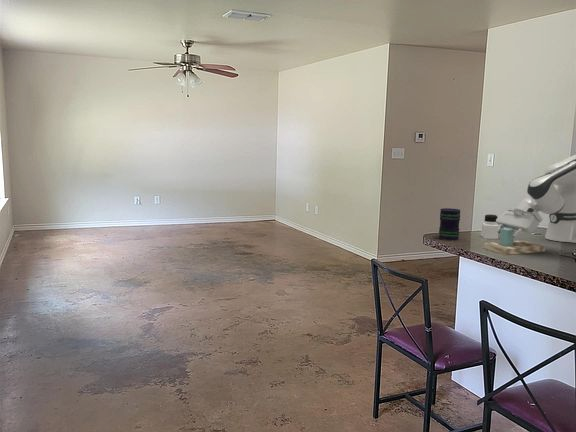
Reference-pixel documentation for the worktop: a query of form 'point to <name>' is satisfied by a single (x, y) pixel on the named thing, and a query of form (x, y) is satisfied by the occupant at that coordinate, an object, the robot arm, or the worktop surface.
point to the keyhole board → (515, 247)
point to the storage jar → (449, 224)
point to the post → (506, 237)
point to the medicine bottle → (490, 227)
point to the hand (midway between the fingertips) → (505, 234)
